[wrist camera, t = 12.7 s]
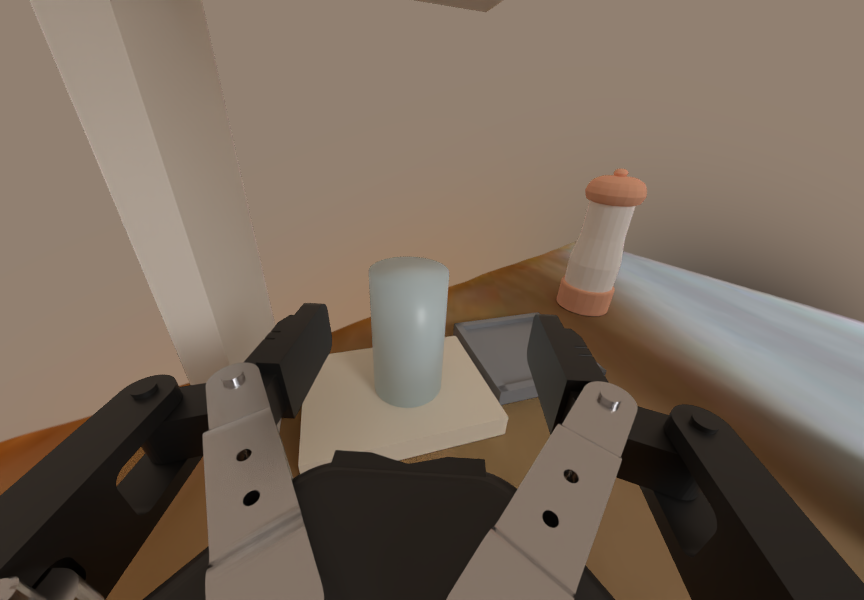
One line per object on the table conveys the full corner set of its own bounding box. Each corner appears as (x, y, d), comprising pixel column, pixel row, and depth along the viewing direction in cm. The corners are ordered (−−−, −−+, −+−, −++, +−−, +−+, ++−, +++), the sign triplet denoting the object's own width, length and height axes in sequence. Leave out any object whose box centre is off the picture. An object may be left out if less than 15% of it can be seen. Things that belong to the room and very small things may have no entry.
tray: (536, 322, 43) (538, 312, 42) (601, 382, 33) (606, 370, 32) (453, 334, 40) (454, 323, 39) (498, 405, 30) (501, 392, 29)
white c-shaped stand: (454, 349, 37) (489, -26, 22) (504, 434, 27) (634, -155, 12) (264, 379, 31) (135, -98, 16) (238, 500, 21) (-165, -462, 6)
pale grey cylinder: (429, 357, 32) (434, 254, 27) (450, 399, 27) (461, 282, 22) (370, 367, 31) (363, 259, 26) (380, 414, 25) (375, 290, 20)
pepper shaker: (613, 304, 49) (661, 170, 40) (598, 322, 44) (649, 174, 35) (566, 289, 53) (600, 164, 44) (548, 303, 48) (582, 167, 39)
